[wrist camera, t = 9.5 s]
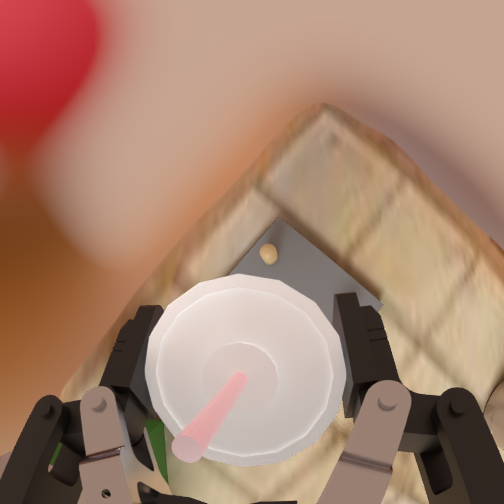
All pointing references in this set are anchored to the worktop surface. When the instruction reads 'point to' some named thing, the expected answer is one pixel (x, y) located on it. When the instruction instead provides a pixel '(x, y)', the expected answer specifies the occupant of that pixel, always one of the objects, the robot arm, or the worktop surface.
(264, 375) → the beverage cup
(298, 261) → the chassis
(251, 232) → the worktop surface
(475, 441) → the robot arm
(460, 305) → the worktop surface
